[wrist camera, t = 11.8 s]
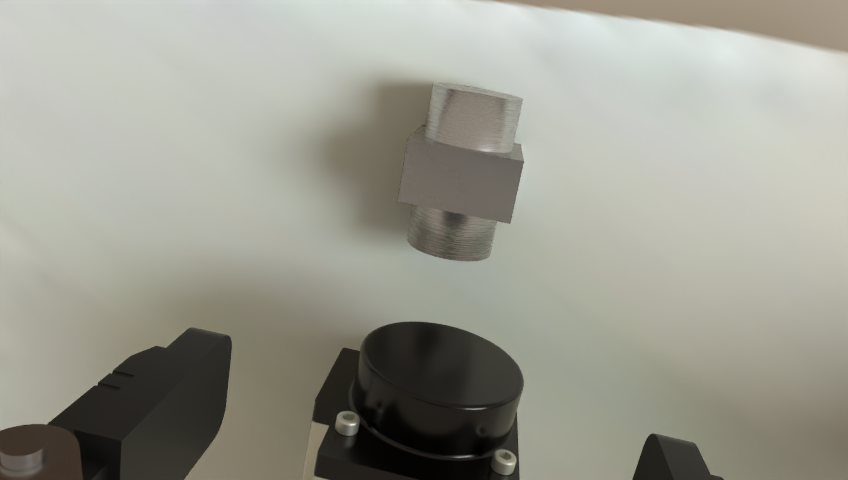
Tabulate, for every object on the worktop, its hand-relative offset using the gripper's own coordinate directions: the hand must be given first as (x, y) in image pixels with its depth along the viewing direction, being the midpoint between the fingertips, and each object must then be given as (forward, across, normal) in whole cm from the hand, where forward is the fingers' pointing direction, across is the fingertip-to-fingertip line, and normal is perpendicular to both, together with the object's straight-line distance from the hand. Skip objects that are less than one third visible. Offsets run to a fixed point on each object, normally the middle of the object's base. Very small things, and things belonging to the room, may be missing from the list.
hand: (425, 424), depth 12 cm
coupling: (+24, +1, -1) cm, 24 cm away
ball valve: (+24, +1, +14) cm, 28 cm away
